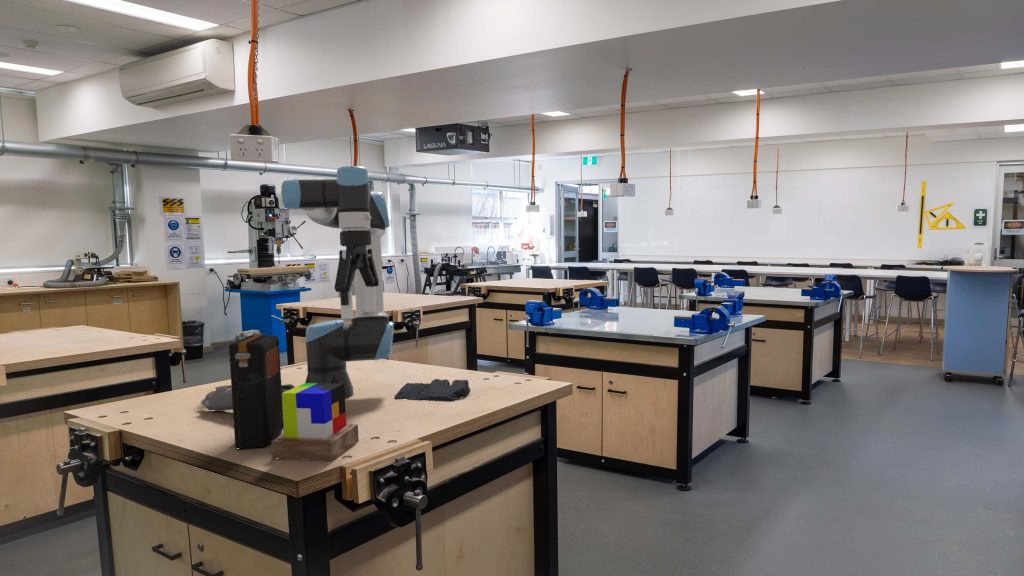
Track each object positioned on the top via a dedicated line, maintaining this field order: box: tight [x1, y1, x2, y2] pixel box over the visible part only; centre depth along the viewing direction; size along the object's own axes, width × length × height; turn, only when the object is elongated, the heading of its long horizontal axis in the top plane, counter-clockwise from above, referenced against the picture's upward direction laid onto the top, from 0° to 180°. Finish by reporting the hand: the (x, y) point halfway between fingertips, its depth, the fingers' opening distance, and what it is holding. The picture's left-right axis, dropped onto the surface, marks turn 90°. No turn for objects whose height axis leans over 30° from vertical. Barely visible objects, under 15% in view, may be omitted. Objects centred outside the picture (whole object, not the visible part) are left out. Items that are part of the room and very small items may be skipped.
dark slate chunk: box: [393, 378, 471, 402], centre depth 195 cm, size 15×22×5 cm
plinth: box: [270, 423, 360, 462], centre depth 145 cm, size 14×14×4 cm
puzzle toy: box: [282, 382, 347, 439], centre depth 144 cm, size 10×10×10 cm
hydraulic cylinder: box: [200, 383, 296, 411], centre depth 178 cm, size 7×37×10 cm, turn 61°
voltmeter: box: [228, 333, 284, 449], centre depth 153 cm, size 16×9×25 cm, turn 5°
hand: (359, 315), depth 159 cm, fingers open, 13 cm apart
